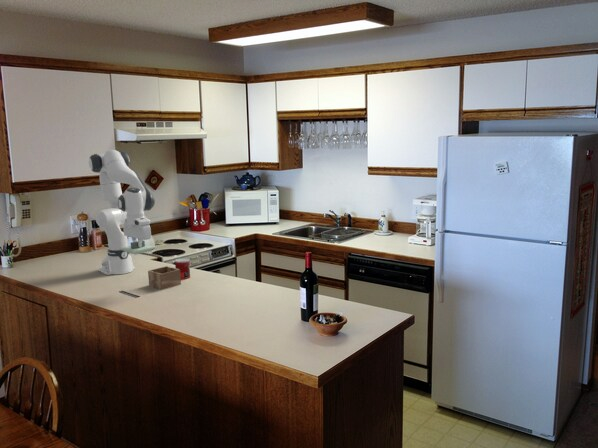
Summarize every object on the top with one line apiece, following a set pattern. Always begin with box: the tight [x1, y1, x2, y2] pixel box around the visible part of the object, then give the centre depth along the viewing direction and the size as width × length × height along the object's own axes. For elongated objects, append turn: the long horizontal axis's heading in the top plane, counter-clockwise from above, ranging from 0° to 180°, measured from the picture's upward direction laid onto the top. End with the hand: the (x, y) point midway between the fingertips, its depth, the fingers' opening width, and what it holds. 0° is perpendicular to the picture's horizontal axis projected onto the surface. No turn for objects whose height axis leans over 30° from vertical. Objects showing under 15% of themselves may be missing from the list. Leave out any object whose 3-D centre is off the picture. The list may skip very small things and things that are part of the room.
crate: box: [147, 265, 182, 290], centre depth 294 cm, size 12×12×9 cm
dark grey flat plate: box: [118, 290, 141, 298], centre depth 288 cm, size 16×16×1 cm
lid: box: [120, 240, 157, 255], centre depth 283 cm, size 13×13×5 cm
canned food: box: [174, 258, 191, 280], centre depth 308 cm, size 8×8×11 cm
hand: (137, 246), depth 283 cm, fingers closed on lid
